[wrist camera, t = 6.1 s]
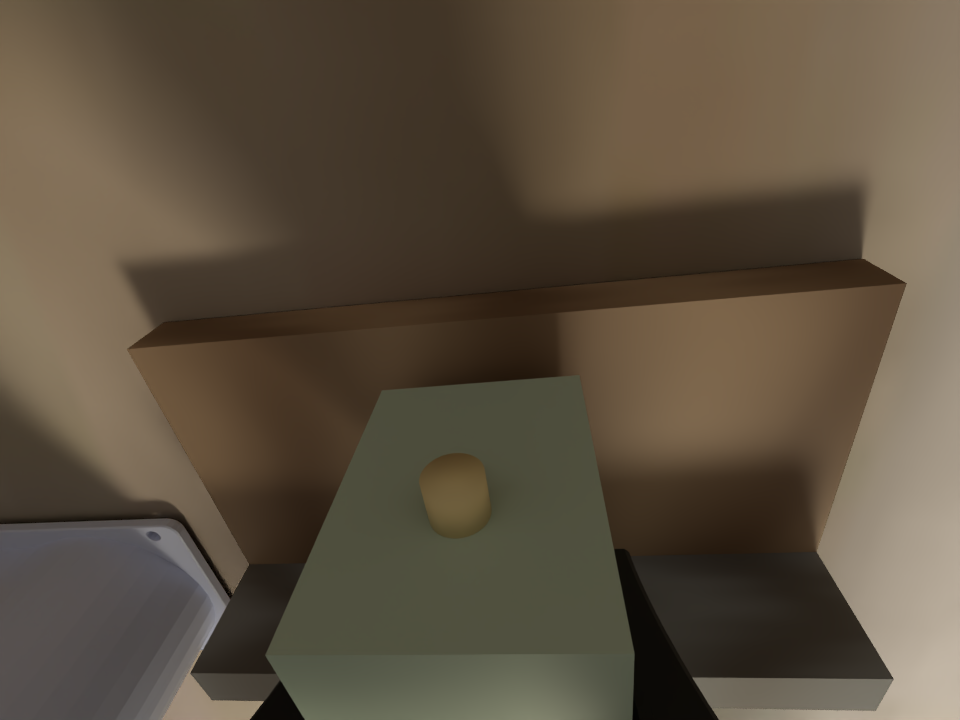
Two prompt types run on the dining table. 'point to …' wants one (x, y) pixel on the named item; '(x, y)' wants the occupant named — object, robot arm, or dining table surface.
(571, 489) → the mini cabinet
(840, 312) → the cleat wall
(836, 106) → the dining table surface
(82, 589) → the robot arm
